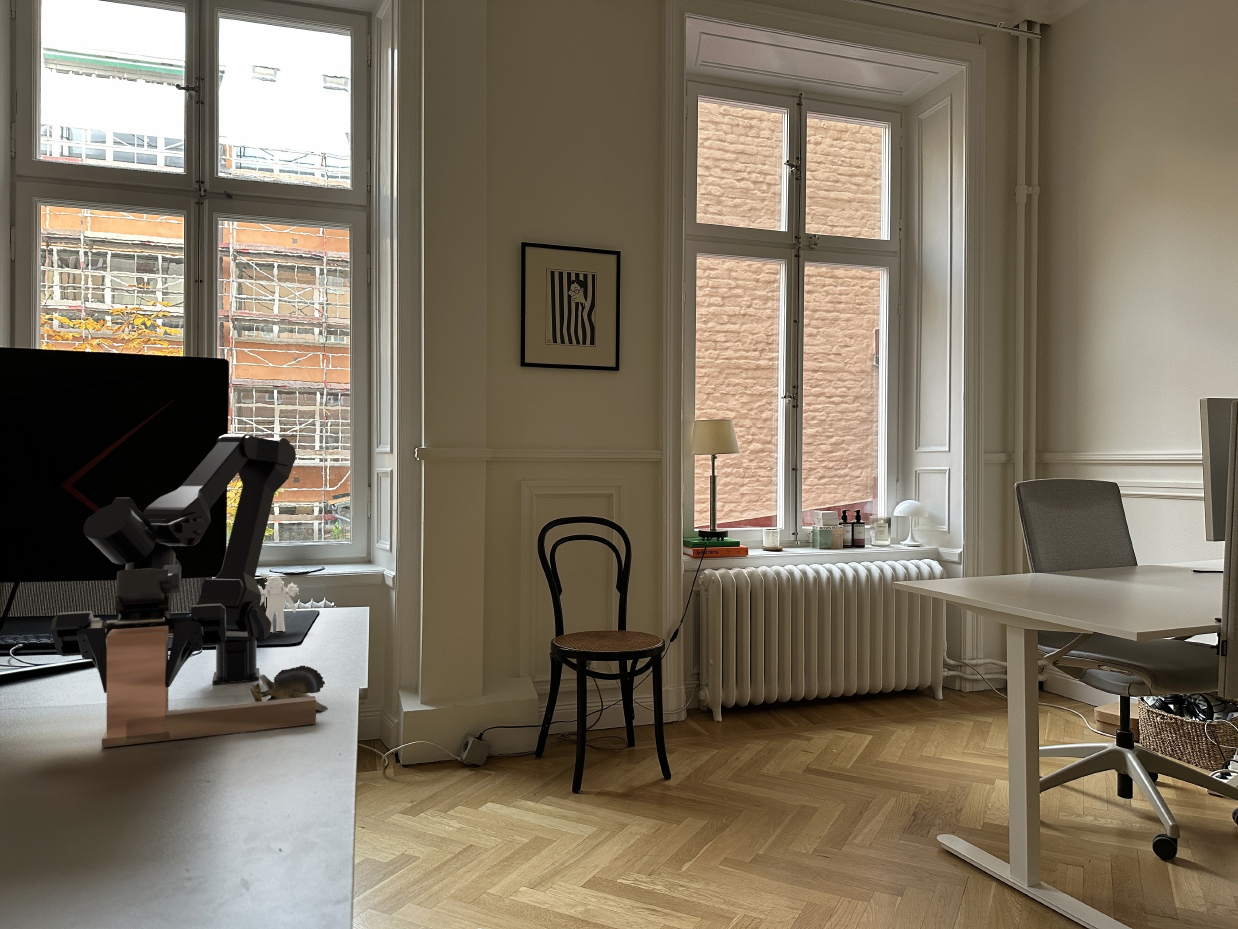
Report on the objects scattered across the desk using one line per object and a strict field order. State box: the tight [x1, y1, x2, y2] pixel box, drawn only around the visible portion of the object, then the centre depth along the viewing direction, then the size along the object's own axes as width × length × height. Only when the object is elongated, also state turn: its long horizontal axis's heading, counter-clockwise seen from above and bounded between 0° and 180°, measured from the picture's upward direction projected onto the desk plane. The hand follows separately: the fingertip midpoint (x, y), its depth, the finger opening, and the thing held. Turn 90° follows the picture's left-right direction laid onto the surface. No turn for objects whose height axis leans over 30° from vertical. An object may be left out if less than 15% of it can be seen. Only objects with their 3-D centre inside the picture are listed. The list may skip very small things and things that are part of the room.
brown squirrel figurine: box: [249, 665, 329, 712], centre depth 112 cm, size 8×7×9 cm
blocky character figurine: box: [258, 572, 300, 633], centre depth 168 cm, size 9×4×12 cm, turn 116°
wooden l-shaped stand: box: [101, 626, 317, 748], centre depth 107 cm, size 10×24×13 cm, turn 113°
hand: (136, 688), depth 100 cm, fingers closed on wooden l-shaped stand, 6 cm apart
